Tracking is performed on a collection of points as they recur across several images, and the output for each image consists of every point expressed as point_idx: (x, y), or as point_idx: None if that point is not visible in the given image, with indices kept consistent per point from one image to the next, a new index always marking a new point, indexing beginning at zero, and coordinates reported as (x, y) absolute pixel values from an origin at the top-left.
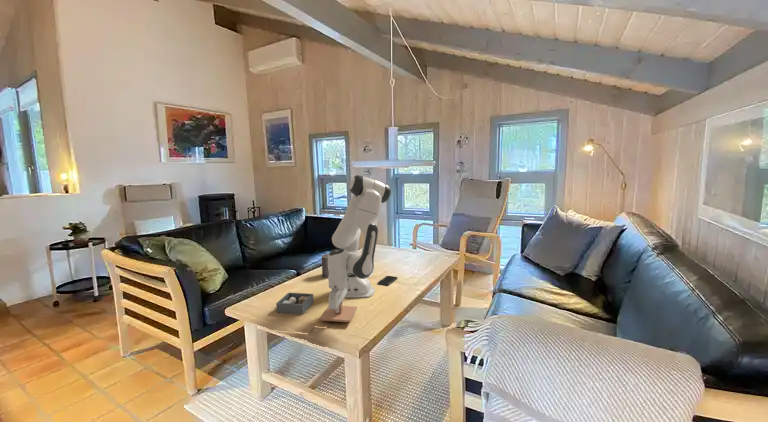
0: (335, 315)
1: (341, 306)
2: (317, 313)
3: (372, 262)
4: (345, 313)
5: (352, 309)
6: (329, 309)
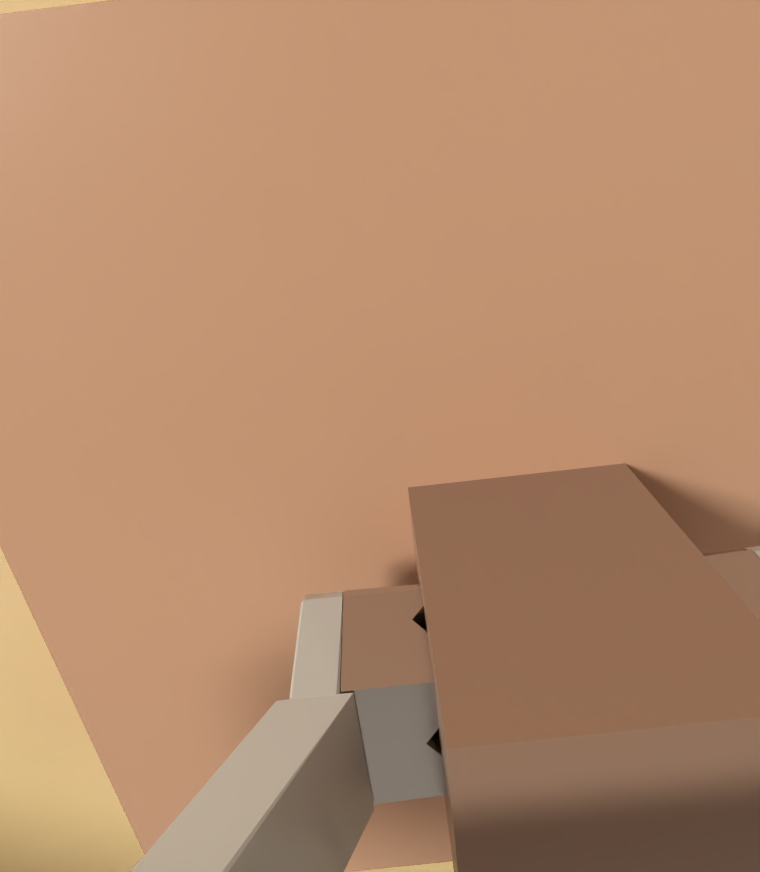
0: None
1: (603, 639)
2: None
3: None
4: (580, 317)
5: (154, 158)
6: (394, 807)
